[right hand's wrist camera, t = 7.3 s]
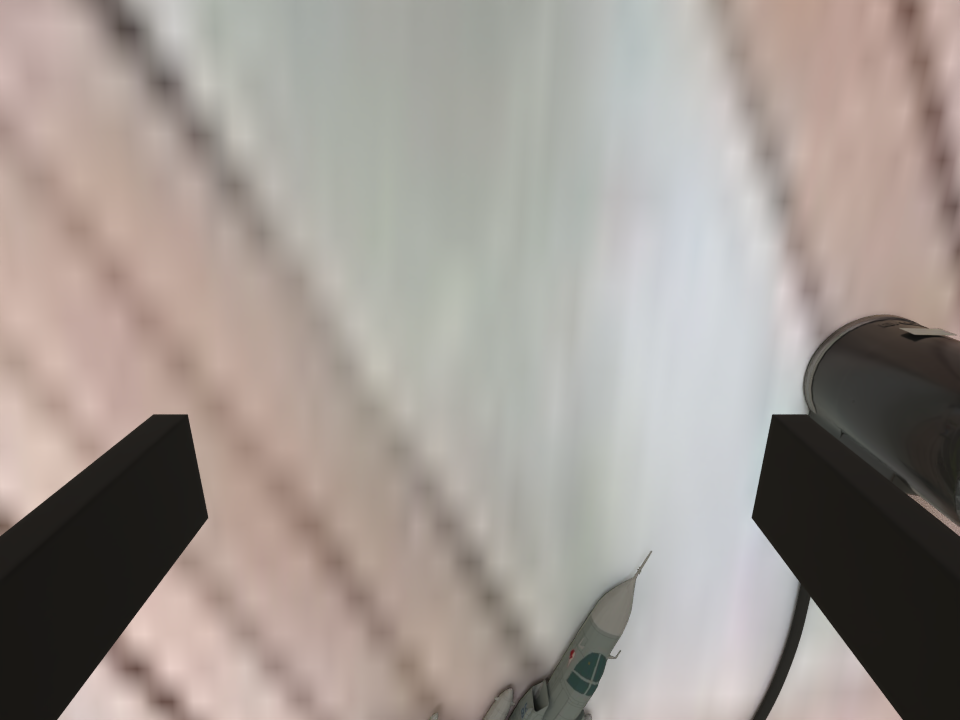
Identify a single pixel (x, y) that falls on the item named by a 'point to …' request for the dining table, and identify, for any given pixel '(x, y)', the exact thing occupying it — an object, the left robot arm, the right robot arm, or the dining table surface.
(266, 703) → the dining table surface
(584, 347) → the dining table surface
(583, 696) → the airplane
